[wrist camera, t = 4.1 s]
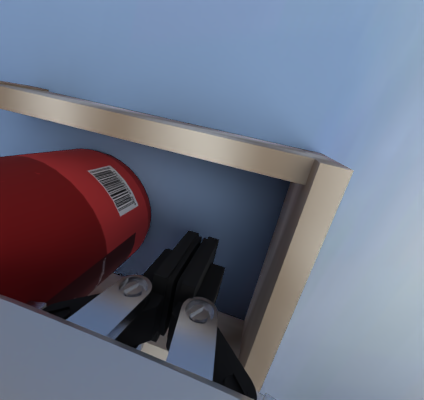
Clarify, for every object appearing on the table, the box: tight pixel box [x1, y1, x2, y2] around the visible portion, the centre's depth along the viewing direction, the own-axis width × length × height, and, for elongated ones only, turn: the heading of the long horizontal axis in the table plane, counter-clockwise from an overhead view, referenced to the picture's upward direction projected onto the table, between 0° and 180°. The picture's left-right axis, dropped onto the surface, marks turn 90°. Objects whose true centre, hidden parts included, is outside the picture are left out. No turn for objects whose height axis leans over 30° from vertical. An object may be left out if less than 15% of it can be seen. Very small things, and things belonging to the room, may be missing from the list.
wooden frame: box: [0, 81, 353, 392], centre depth 13 cm, size 18×13×5 cm
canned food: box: [0, 149, 151, 306], centre depth 11 cm, size 8×8×11 cm
